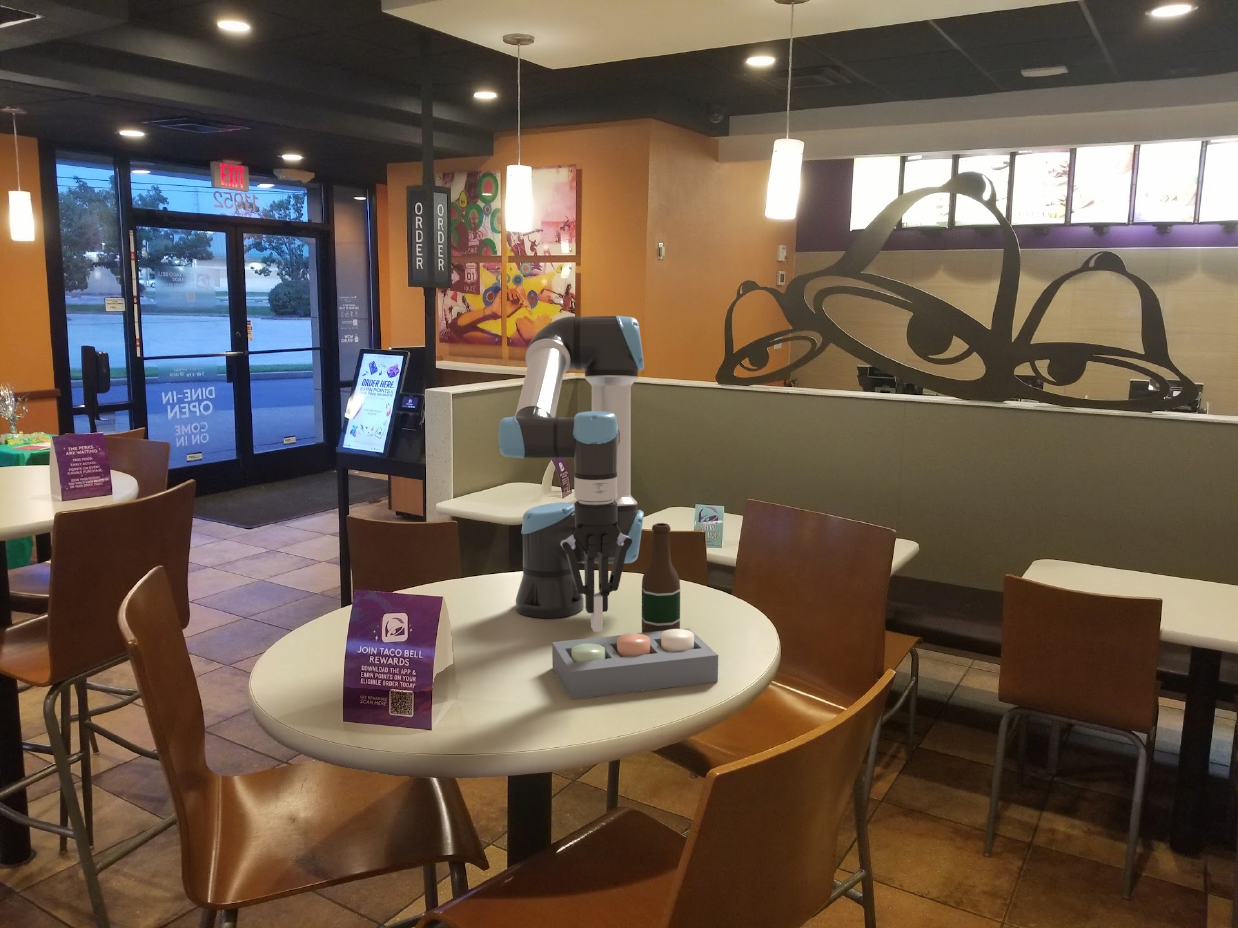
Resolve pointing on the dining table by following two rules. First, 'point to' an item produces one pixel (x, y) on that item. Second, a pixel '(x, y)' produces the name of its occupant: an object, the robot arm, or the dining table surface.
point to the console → (632, 667)
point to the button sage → (587, 652)
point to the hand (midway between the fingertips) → (596, 629)
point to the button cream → (677, 640)
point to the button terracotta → (633, 645)
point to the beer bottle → (660, 586)
